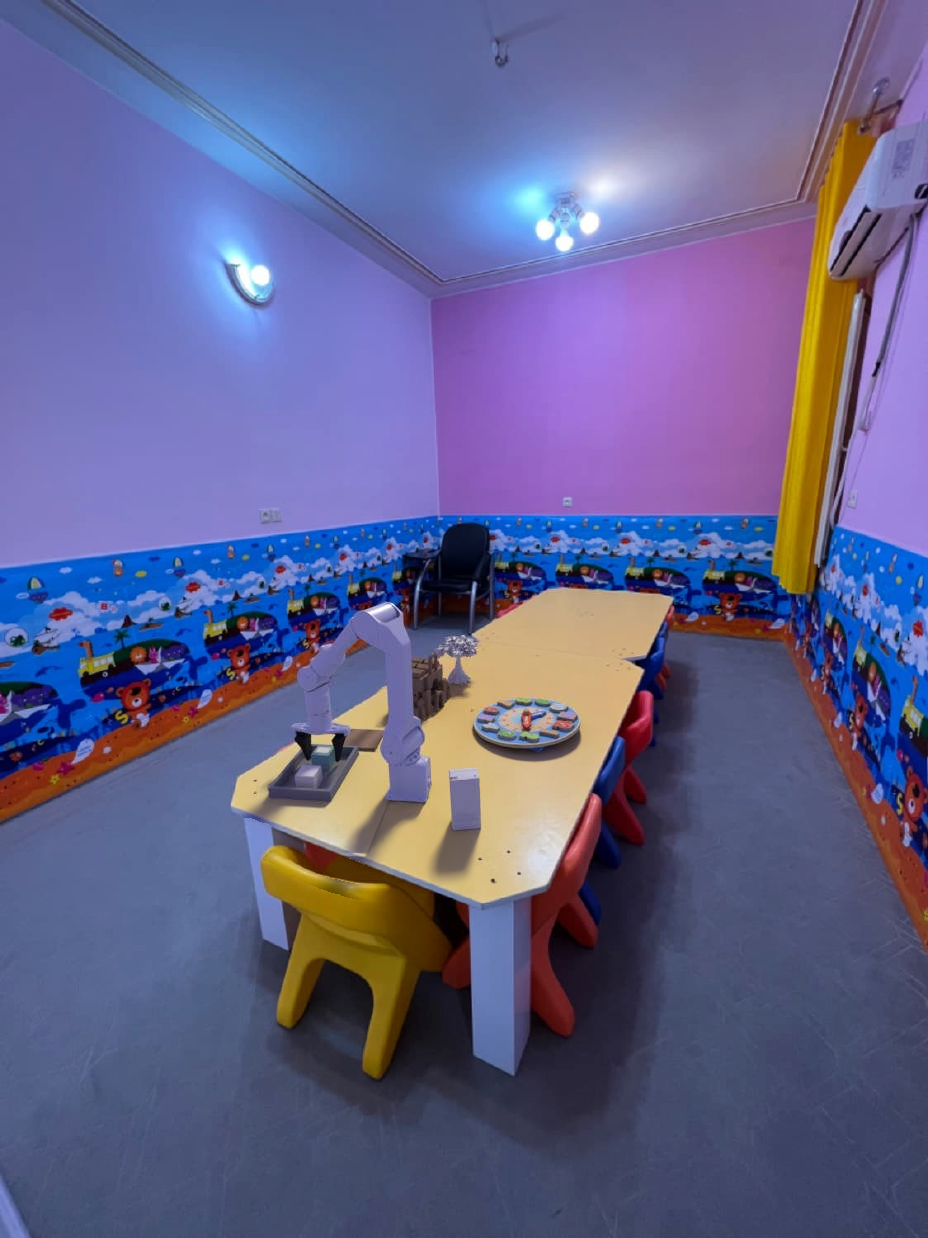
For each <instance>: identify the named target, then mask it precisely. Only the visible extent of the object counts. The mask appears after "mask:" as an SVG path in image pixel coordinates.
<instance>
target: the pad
mask: <svg viewBox="0 0 928 1238" xmlns="http://www.w3.org/2000/svg"><path fill="white" fill-rule="evenodd" d="M350 731H351V733H350V734H349V736H346V739H345V742H344V745H347V746H358V747H359V751H372V752H375V751H377V749H378V747H379V745H380V744H381V742H382V741H383V732H384V729H369V728H367V729H365V728H350Z"/></svg>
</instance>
